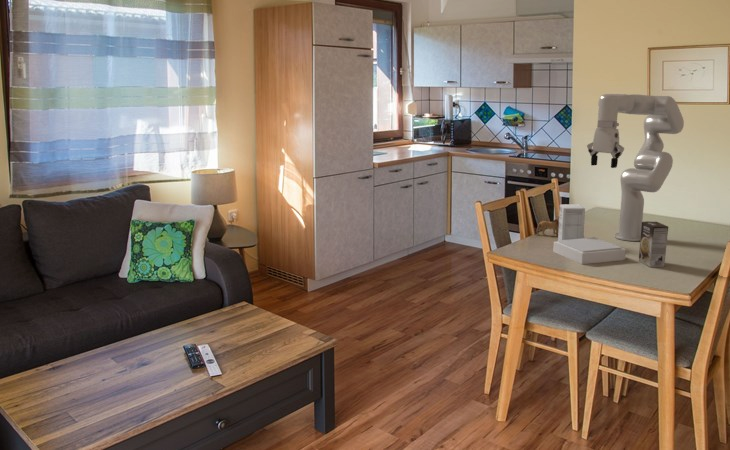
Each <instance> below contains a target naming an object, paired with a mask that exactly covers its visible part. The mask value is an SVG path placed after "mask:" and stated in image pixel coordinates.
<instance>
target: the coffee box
mask: <svg viewBox="0 0 730 450" xmlns="http://www.w3.org/2000/svg"><path fill="white" fill-rule="evenodd" d="M668 234H669V226H668V225H666V224H664V223H661V222H658V221H642V227H641V239H640V241H639V242H640V243H639V253H638V262H640V263H642V264H643V265H646V267H649V268H663V267H665V265H666V263H665V262H666V253H667V244H668V236H669V235H668Z"/></svg>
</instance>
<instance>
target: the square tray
mask: <svg viewBox="0 0 730 450" xmlns="http://www.w3.org/2000/svg"><path fill="white" fill-rule="evenodd" d="M552 248H553V249H552V250H553V251H552V253H555V254H557V255H559V256H562V257H563V258H566V259H568V260H571V261H573V262H576V263H577V264H581V265H587V264H597V263H606V262H618V261H625V260H626V248H623V247H622V246H619V245H616V244H614V243H611V242H608V241H606V240H602V239H601V238H600V239H599V238H597V237H594V236H593V237H584V238H581V239H570V240H559V241H558V240H556V241H553V247H552Z"/></svg>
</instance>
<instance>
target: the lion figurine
mask: <svg viewBox="0 0 730 450" xmlns="http://www.w3.org/2000/svg"><path fill="white" fill-rule="evenodd" d="M546 229H547V230H550V231H551V230H552V234H553V235H555V234H556V235H555V236H557V237H558V232H559V215H558V216H557V217H556V218H554V220H552V221H546V220H541V221H540V222H539V223H538V224H537V228H536V230H535V231H536V232H535V234H534V235H535V236H537V235H538V234H539V235H540V233H539V232H540V231H542V232H541V233H542V236H544V237H547V234H546V232H545V231H546Z"/></svg>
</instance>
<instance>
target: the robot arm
mask: <svg viewBox="0 0 730 450" xmlns="http://www.w3.org/2000/svg"><path fill="white" fill-rule="evenodd" d="M597 103H598V113H597V114H598V115H597V125H596V128H595V131H594V133H593V134H594V135H593V141H592V142H591V143H588V144H587V145H586V147H587V150H588V151H587V152H588V153H589V155H590V157H591V159H590V165H591V166H597V165H598V154H599V153H603V154H610V155H611V156H612V158H611V161H610V168H611V169H615V168H618V161H619V158H620V157H621V156H622V154H623V152H624V151H625V147H624V146H622V145H621V144H620V131H619V129H618V128H617V127H619V125H620V124H619V122H618V113H619V114H626V115H627V114H628V115H635V116H636V115H638V116H639V115H641V116H642V115H643V116H646V117H645V118H644V121H643V131H644V142H643V144H642V146H641V148H640V149H639V151H638V153H637V154H636V156H635V158H634V161H633V166H634V168H633V167H632V168H626V169H624V170H623V171H622V172H621V174H620V180H619V181H620V190H621V201H620V210H619V211H620V213H619V222H618V223H619V225H618V232H617V233H614V238H616V239H618V240H622V241H628V242H640V239H641V227H642V222H643V218H644V206H645V198H644V196H643V192H645V193H656V192H658V191H660V189H661V188H662V186H663V184H664V182H665V181H666V179H667V177H668V176H669V174H670V172H671V171H672V168H673V163H674V159H673V156H672V154H670V153H669V152H666V151H663V149H664V145H665V144H664V141H663V140H662V138H661V136H660V134H667V135H677V134H679V133H681V132H682V131H683V129H684V125H685V123H684V122H685V121H684V117H683V115H682V112H681V110H680V107H679V105H678V104H677V101H676V100H675V99H674V98H673V97H672V96H669V95H648V94H646V95H645V94H626V93H624V94H623V93H604V94H602V95H601V96H600V97H599V99H598V102H597Z"/></svg>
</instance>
